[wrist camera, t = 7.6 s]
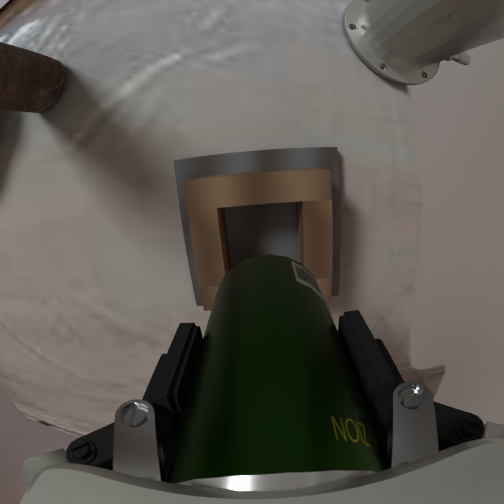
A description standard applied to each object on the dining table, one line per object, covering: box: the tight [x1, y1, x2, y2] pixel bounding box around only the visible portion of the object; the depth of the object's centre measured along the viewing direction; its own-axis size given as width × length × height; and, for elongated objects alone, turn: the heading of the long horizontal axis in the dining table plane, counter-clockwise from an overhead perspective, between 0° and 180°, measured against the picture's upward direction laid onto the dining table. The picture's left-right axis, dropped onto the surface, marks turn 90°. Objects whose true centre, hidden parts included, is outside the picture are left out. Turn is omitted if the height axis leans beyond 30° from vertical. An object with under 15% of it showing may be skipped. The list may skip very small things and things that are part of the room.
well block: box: [174, 147, 340, 311], centre depth 26 cm, size 16×16×6 cm
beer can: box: [166, 254, 386, 491], centre depth 9 cm, size 5×5×12 cm
